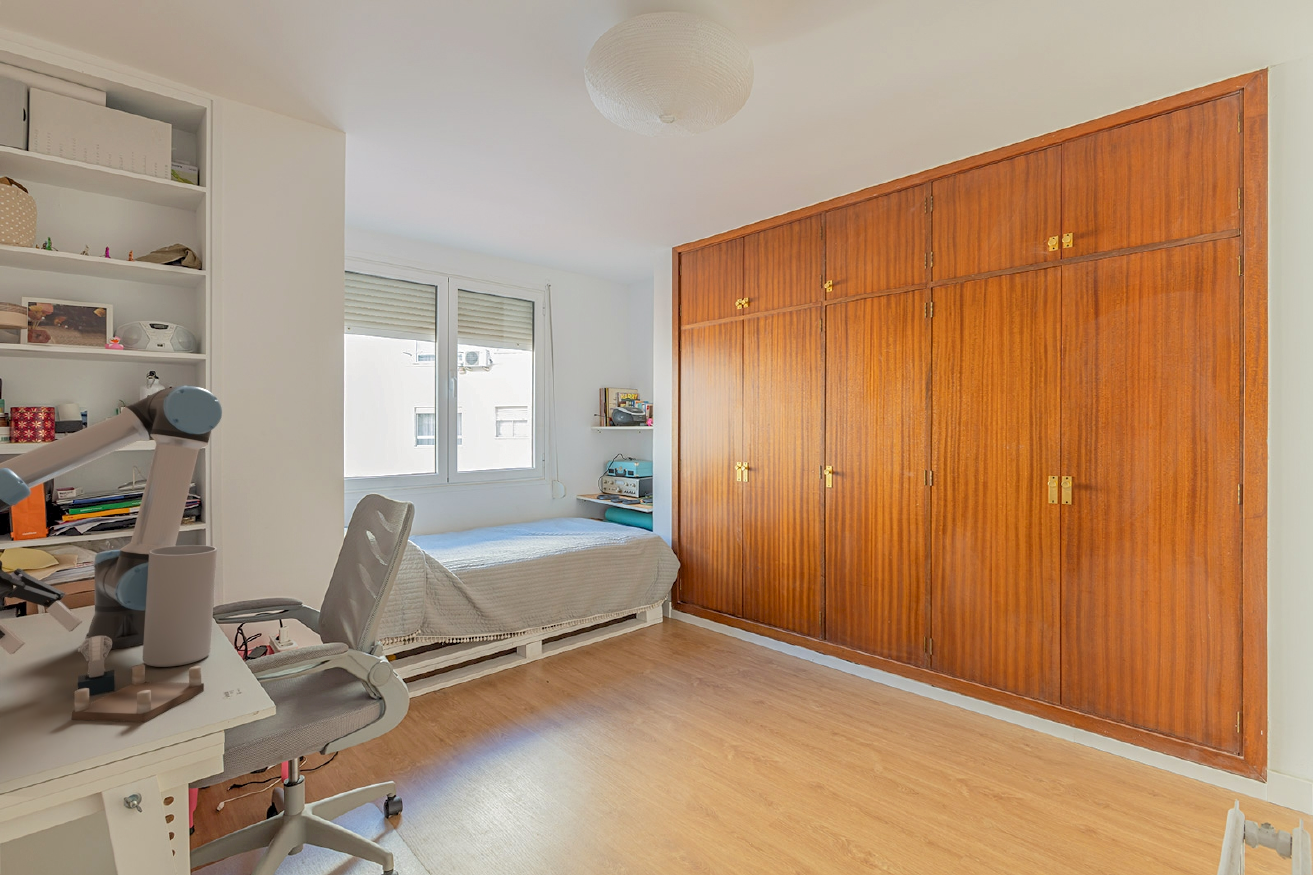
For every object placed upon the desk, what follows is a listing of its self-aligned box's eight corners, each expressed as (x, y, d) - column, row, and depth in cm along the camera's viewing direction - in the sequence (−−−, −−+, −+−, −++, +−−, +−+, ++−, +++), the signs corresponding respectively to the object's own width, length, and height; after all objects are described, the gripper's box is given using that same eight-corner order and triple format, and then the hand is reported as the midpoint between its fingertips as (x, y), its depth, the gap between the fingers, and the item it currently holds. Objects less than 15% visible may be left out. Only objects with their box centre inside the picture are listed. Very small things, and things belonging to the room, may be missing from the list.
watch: (114, 681, 133) (114, 629, 133) (114, 693, 127) (114, 639, 127) (78, 688, 130) (78, 635, 129) (76, 701, 123) (76, 645, 123)
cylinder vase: (138, 656, 146) (144, 547, 146) (203, 645, 155) (209, 543, 155) (147, 672, 137) (154, 557, 137) (216, 660, 146) (222, 552, 146)
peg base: (138, 688, 130) (138, 664, 130) (203, 690, 129) (203, 666, 129) (71, 719, 116) (71, 692, 116) (144, 722, 115) (144, 694, 115)
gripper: (8, 562, 137) (83, 631, 138) (-121, 592, 112) (-27, 674, 114) (35, 538, 137) (110, 606, 139) (-87, 561, 112) (6, 644, 114)
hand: (48, 637), depth 126 cm, fingers open, 13 cm apart
